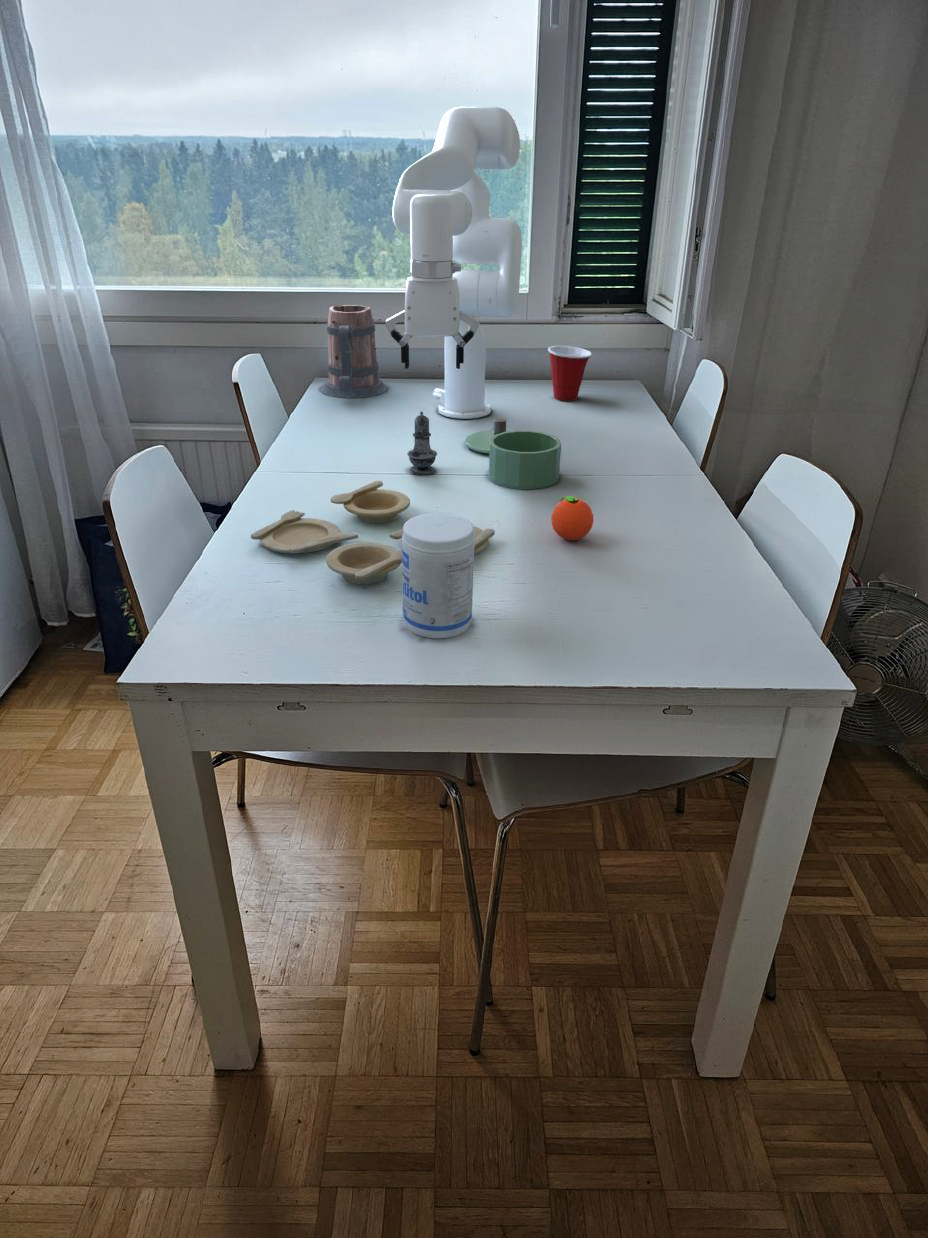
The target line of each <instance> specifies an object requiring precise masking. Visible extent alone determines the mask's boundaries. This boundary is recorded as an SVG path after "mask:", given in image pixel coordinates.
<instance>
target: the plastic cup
mask: <svg viewBox="0 0 928 1238" xmlns="http://www.w3.org/2000/svg"><path fill="white" fill-rule="evenodd" d="M547 351H548V354H549V363H550V372H551V383H552V390H553V397H554V399H555V400H558V401H562V402H569V401H570V402H572V401H576V400H577V399H578V396H579V394H580V393H579V392H580V388H581V385H582V382H583V377H584V374H585V369H586V366H587V364H588V363H587V362H588V361H589V359H590V357H591V356H592V351H590V350H588V349H585V348H581V347H578V346H570V345H552V346H549V347H548V348H547Z"/></svg>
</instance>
